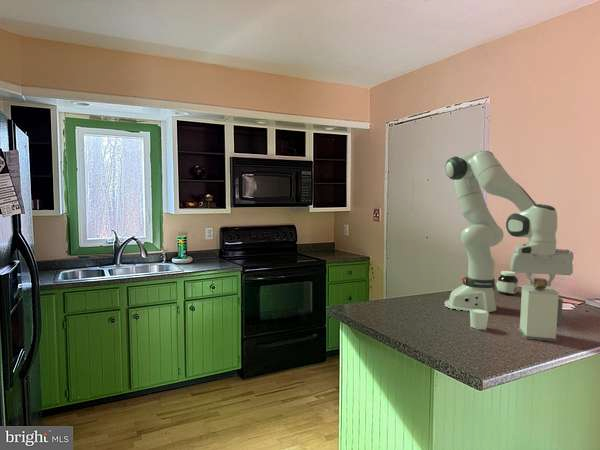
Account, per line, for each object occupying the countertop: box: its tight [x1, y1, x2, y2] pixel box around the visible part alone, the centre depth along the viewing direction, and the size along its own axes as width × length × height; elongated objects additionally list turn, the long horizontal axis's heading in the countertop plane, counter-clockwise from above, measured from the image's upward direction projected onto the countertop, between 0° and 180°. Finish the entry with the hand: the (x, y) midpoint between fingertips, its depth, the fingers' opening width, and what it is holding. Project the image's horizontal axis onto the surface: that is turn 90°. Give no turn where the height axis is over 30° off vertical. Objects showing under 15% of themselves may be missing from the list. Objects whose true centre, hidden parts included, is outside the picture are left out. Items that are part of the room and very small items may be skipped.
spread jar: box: [495, 270, 519, 296], centre depth 221 cm, size 12×11×12 cm
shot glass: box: [469, 309, 490, 330], centre depth 163 cm, size 7×7×7 cm
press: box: [518, 284, 564, 343], centre depth 154 cm, size 13×10×18 cm
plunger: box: [533, 277, 547, 290], centre depth 154 cm, size 7×7×20 cm
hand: (539, 285), depth 154 cm, fingers closed on plunger, 4 cm apart
